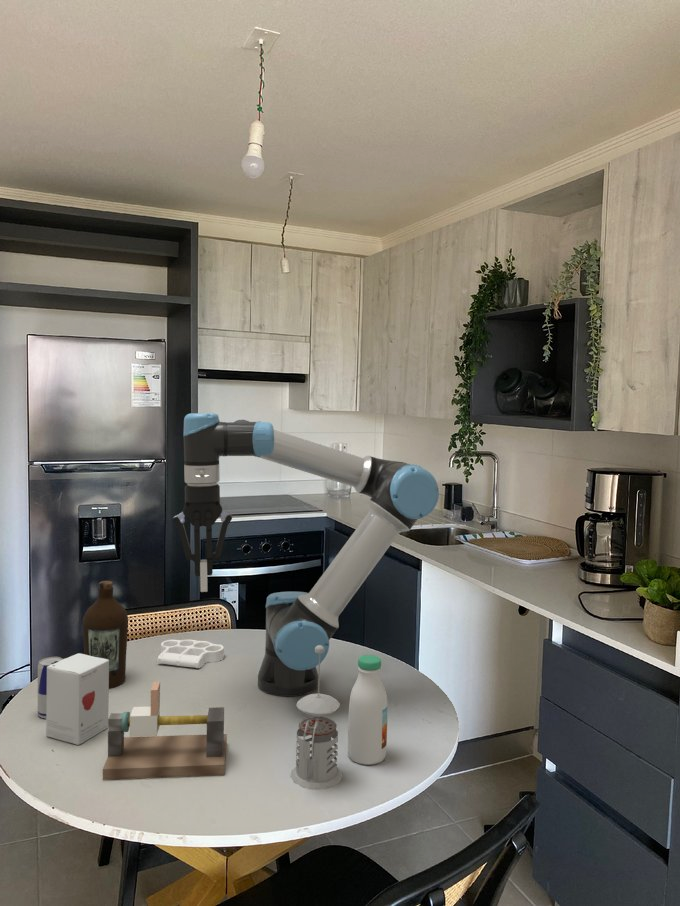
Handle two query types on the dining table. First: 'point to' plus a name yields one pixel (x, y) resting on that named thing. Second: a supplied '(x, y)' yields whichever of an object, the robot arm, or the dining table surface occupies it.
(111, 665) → the olive oil
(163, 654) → the white brass knuckles
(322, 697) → the french press
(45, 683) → the energy drink
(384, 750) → the milk bottle
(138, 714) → the cube with tan panel
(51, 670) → the supplement box
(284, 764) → the dining table surface
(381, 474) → the robot arm
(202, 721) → the axle on two posts
